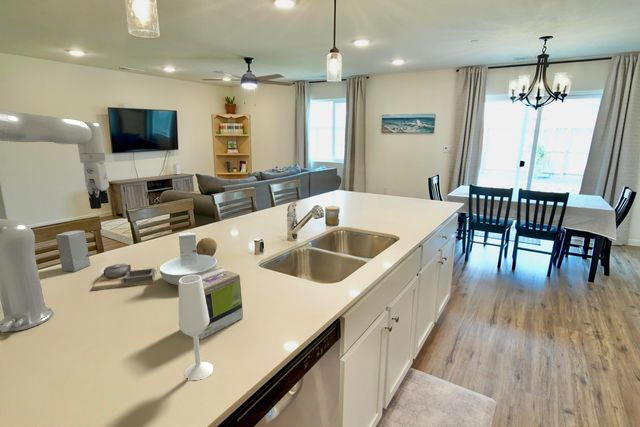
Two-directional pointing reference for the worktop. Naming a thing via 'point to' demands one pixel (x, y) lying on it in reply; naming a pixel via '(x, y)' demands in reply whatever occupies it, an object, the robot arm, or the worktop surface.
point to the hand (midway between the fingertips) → (100, 205)
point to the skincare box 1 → (73, 250)
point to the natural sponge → (206, 247)
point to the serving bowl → (186, 268)
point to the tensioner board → (124, 276)
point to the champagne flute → (194, 321)
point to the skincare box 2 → (188, 248)
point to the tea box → (221, 299)
